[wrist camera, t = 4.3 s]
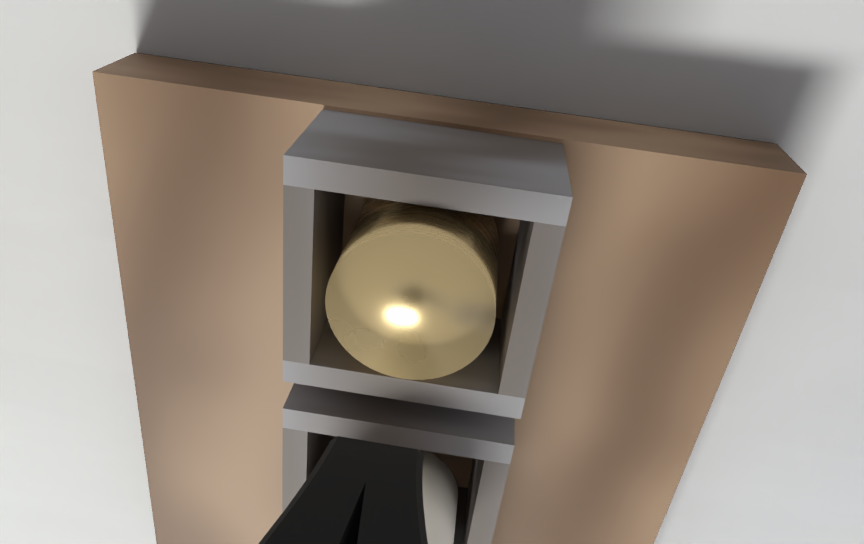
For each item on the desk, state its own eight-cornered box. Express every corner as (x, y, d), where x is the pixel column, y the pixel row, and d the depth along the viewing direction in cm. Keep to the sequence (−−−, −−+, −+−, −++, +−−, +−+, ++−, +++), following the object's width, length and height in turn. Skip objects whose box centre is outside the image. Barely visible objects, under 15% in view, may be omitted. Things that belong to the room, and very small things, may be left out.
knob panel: (776, 144, 17) (868, 235, 12) (601, 601, 26) (618, 747, 21) (135, 52, 17) (7, 109, 13) (184, 531, 26) (119, 660, 22)
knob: (510, 187, 15) (509, 249, 13) (486, 313, 17) (481, 391, 14) (360, 165, 15) (328, 222, 13) (351, 292, 17) (322, 366, 14)
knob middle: (466, 451, 17) (457, 555, 14) (449, 543, 18) (438, 652, 16) (329, 429, 17) (295, 528, 14) (325, 523, 18) (293, 627, 16)
